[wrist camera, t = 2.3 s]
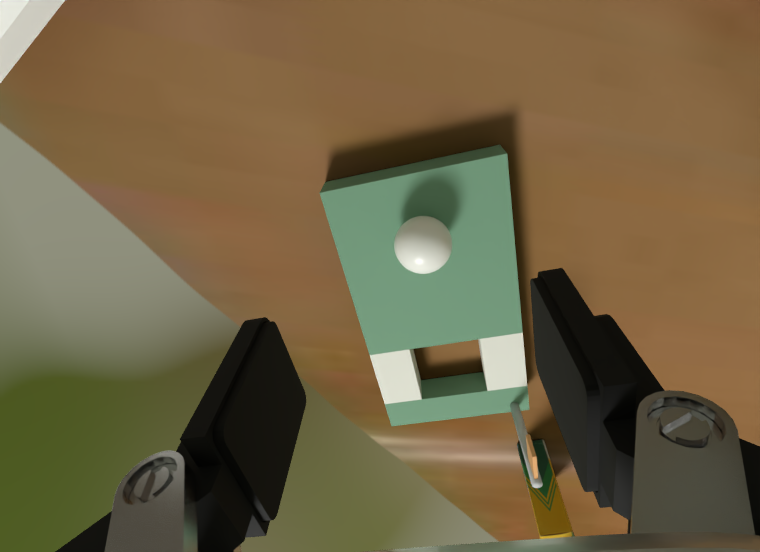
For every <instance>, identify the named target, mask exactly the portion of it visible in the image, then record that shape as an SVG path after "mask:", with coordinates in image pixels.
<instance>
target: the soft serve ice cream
mask: <svg viewBox="0 0 760 552" xmlns="http://www.w3.org/2000/svg"><path fill="white" fill-rule="evenodd" d="M64 1H65V0H0V83H1V82H2V80H3V79H4V78H5V76H6V75H7V74H8V73H9V71H10V70H11V69H12V68H13V66H14V65H15V64H16V62H17V61H18V60H19V59H20V57H21V56H22V55H23V53H24V52H25V51H26V50H27V48H28V47H29V46H30V45H31V43H32V42H33V41H34V39H35V38H36V37H37V36H38V34H39V33H40V32H41V30H42V29H43V28H44V27H45V25H46V24H47V23H48V22H49V20H50V19H51V18H52V16H53V15H54V14H55V13H56V11H57V10H58V9H59V7H60V6H61V5H62V4H63V2H64Z"/></svg>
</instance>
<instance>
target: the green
mask: <svg viewBox="0 0 760 552" xmlns="http://www.w3.org/2000/svg"><path fill="white" fill-rule="evenodd" d="M320 196H321V199H322V202H323V205H324V209H325V212H326V215H327V218H328V222H329V225H330V228H331V231H332V234H333V238H334V241H335V244H336V247H337V251H338V254H339V257H340V260H341V264H342V267H343V270H344V273H345V277H346V280H347V283H348V286H349V290H350V293H351V296H352V299H353V303H354V306H355V309H356V312H357V315H358V319H359V322H360V325H361V328H362V332H363V335H364V338H365V341H366V345H367V348H368V351H369V354H370V358H371V361H372V364H373V367H374V371H375V374H376V377H377V380H378V384H379V387H380V390H381V393H382V397H383V400H384V403H385V406H386V409H387V413H388V416H389V419H390V422H391V426H397V425H405V424H414V423H422V422H430V421H439V420H447V419H455V418H464V417H472V416H480V415H488V414H497V413H505V412H512V416H513V419H514V423H515V426H516V430H517V434H518V437H519V441H520V444H521V448H522V452H523V455H524V459H525V462H526V466H527V470H528V473H529V477H530V480H531V484H532V487H534V488H540V487H542V485H543V483H542V480H541V477H540V473H539V470H538V467H537V456H536V453H535V450H534V447H533V443H532V440H531V437H530V434H527V430H526V427H525V424H524V420H523V417H522V414H521V411H522V410H529V400H528V389H527V377H526V366H525V354H524V342H523V331H522V319H521V308H520V296H519V285H518V273H517V261H516V250H515V238H514V227H513V215H512V204H511V192H510V180H509V169H508V157H507V153H506V151H505V150H504V149H503V148H502V147H501V145H496V146H491V147H487V148H482V149H477V150H473V151H468V152H463V153H459V154H454V155H449V156H445V157H440V158H435V159H431V160H426V161H421V162H417V163H412V164H407V165H402V166H398V167H393V168H388V169H384V170H379V171H374V172H370V173H365V174H360V175H356V176H351V177H346V178H342V179H337V180H332V181H328V182H325V184H324V186H323V188H322V189H321V191H320ZM417 216H430V217H433V218H436V219H437V220H439V221H441V222H442V223H443V224H444V225H445V226H446V227H447V229H448V230H449V232H450V235H451V238H452V251H451V255H450V257H449V259H448V261H447V262H446V263H445V264H444V265H443V266H442V267H441V268H440V269H438V270H436V271H434V272H432V273H427V274H419V273H414V272H412V271H410V270H408V269H406V268H405V267H404V266H403V265H402V264H401V263H400V262H399V260H398V258H397V256H396V254H395V249H394V241H395V236H396V234H397V232H398V230H399V228H400V227H401V226H402V225H403V224H404V223H405V222H406V221H408V220H409V219H411V218H414V217H417ZM477 339H478V341H479V347H480V354H481V361H482V368H483V372H479V373H471V374H464V375H457V376H449V377H442V378H434V379H427V380H421V379H420V374H419V370H418V366H417V362H416V358H415V354H414V350H413V349H415V348H422V347H429V346H436V345H443V344H449V343H456V342H463V341H470V340H477Z"/></svg>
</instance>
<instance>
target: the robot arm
mask: <svg viewBox="0 0 760 552" xmlns="http://www.w3.org/2000/svg"><path fill="white" fill-rule="evenodd" d="M530 285H531V299H532V314H533V328H534V343H535V357H536V365H537V370H538V373H539V376H540V379H541V381H542V384H543V386H544V389H545V392H546V394H547V397H548V399H549V402H550V405H551V407H552V410H553V412H554V415H555V418H556V420H557V423H558V425H559V428H560V431H561V433H562V436H563V438H564V441H565V443H566V446H567V449H568V451H569V454H570V456H571V459H572V462H573V464H574V467H575V469H576V472H577V475H578V477H579V480H580V482H581V485H582V487H583V489H584V491H585V492H591V491H593V492H594V494H595V497H596V499H597V502H598V504H599V507H600V508H603V507H612V509H613V511H615V512H616V513H618V514H620V515H621V516H623V517H625V518H626V519H628V530H627V534H615V535H596V536H577V537H561V538H546V539H532V540H518V541H503V542H489V543H475V544H461V545H446V546H434V547H433V546H432V547H419V548H405V549H392V550H379V551H365V552H760V446H757V445H755V444H752V443H750V442H747V441H745V440H742V439H740V438H739V436H738V430H737V428H736V425H735V423H734V421H733V419H732V418H731V417H730V416H729V415H728V413H727V412H726V411H725V410H724V409H722V408H721V407H719V406H718V405H717V404H715V403H714V402H712V401H710V400H708V399H706V398H703V397H701V396H699V395H696V394H692V393H688V392H684V391H670V390H668V391H664V389H663V388H662V387H661V385H660V384H659V382H658V381H657V379H656V378H655V377H654V375H653V374H652V372H651V371H650V370H649V368H648V367H647V365H646V364H645V363H644V361H643V360H642V358H641V357H640V356H639V354H638V353H637V351H636V350H635V349H634V347H633V346H632V344H631V343H630V342H629V340H628V339H627V337H626V336H625V335H624V333H623V332H622V330H621V329H620V328H619V326H618V325H617V323H616V322H615V321H614V319H613V318H612V317H611V316H610V315H608V314H605V315H598V316H594V315H593V314H592V312H591V311H590V309H589V308H588V306H587V305H586V303H585V302H584V300H583V299H582V297H581V295H580V294H579V292H578V291H577V289H576V288H575V286H574V285H573V283H572V282H571V280H570V279H569V277H568V276H567V274H566V273H565V271H564V270H563V269H562V268H559V269H553V270H547V271H541V272H538V278H533V279H531V281H530ZM305 406H306V395H305V391H304V389H303V386H302V384H301V382H300V379H299V377H298V374H297V372H296V370H295V367H294V365H293V363H292V360H291V358H290V356H289V353H288V351H287V348H286V346H285V344H284V341H283V339H282V337H281V334H280V332H279V329H278V327H277V325H276V323H275V322H273V321H272V322H270V321H269V320H268V319H267V318H265V317H264V318H258V319H252V320H247V321H245V322H244V323H243V324H242V326H241V328H240V330H239V332H238V334H237V336H236V337H235V339H234V341H233V343H232V345H231V347H230V348H229V350H228V352H227V354H226V356H225V357H224V359H223V361H222V363H221V365H220V367H219V368H218V370H217V372H216V374H215V376H214V378H213V379H212V381H211V383H210V385H209V387H208V389H207V390H206V392H205V394H204V396H203V398H202V400H201V401H200V404H199V405H198V407H197V409H196V411H195V413H194V414H193V416H192V418H191V420H190V422H189V424H188V426H187V427H186V429H185V431H184V433H183V434H182V437H181V438H180V440H181V443H180V445H179V447H178V449H177V451H176V452H175V451H163V452H159V453H157V454H154V455H152V456H150V457H148V458H146V459H144V460H143V461H141V462H140V463H139V464H137V465H136V466H135V467H134V468H132V470H131V471H130V472H129V473H128V474H127V475H126V476H125V477H124V478H123V480H122V481H121V483H120V484H119V486H118V488H117V491H116V494H115V497H114V503H113V509H112V511H111V512H110V513H109V514H107V515H106V516H104V517H103V518H102V519H100V520H99V521H97V522H96V523H95V524H93V525H92V526H91V527H89V528H88V529H86V530H85V531H83V532H82V533H81V534H79V535H78V536H77V537H75V538H74V539H72V540H71V541H70V542H68V543H67V544H65V545H64V546H63V547H61V548H60V549H58V550H57V551H56V552H242V550H241V545H240V544H241V543H242V542H243V541H244V540H245V537H256V536H266V533H267V530H268V526H269V522H270V520H274V519H275V517H276V516H277V513H278V509H279V505H280V501H281V498H282V494H283V490H284V486H285V482H286V478H287V475H288V471H289V467H290V463H291V459H292V455H293V452H294V448H295V444H296V440H297V436H298V433H299V429H300V425H301V421H302V417H303V413H304V410H305Z"/></svg>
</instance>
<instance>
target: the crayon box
mask: <svg viewBox="0 0 760 552" xmlns="http://www.w3.org/2000/svg"><path fill="white" fill-rule="evenodd" d="M532 443H533V447H534V450H535V453H536V456H537V467H538V470H539V473H540V477H541V480H542V483H543V485H542V487H540V488H534V487H532V484H531V480H530V477H529V473H528V470H527V466H526V462H525V459H524V455H523V452H522V448H521V444H520V443H518V444H517V447H518V451H519V456H520V460H521V464H522V468H523V472H524V476H525V480H526V484H527V488H528V492H529V495H530V499H531V503H532V507H533V511H534V515H535V519H536V523H537V527H538V532H539V536H540V539H546V538H561V537H575V536H574V533H573V530H572V527H571V524H570V521H569V518H568V514H567V511H566V508H565V505H564V502H563V499H562V496H561V493H560V489H559V486H558V483H557V480H556V477H555V474H554V470H553V467H552V464H551V461H550V458H549V454H548V451H547V448H546V445H545V442H544V440H543V439H540V440H534V441H532Z"/></svg>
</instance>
